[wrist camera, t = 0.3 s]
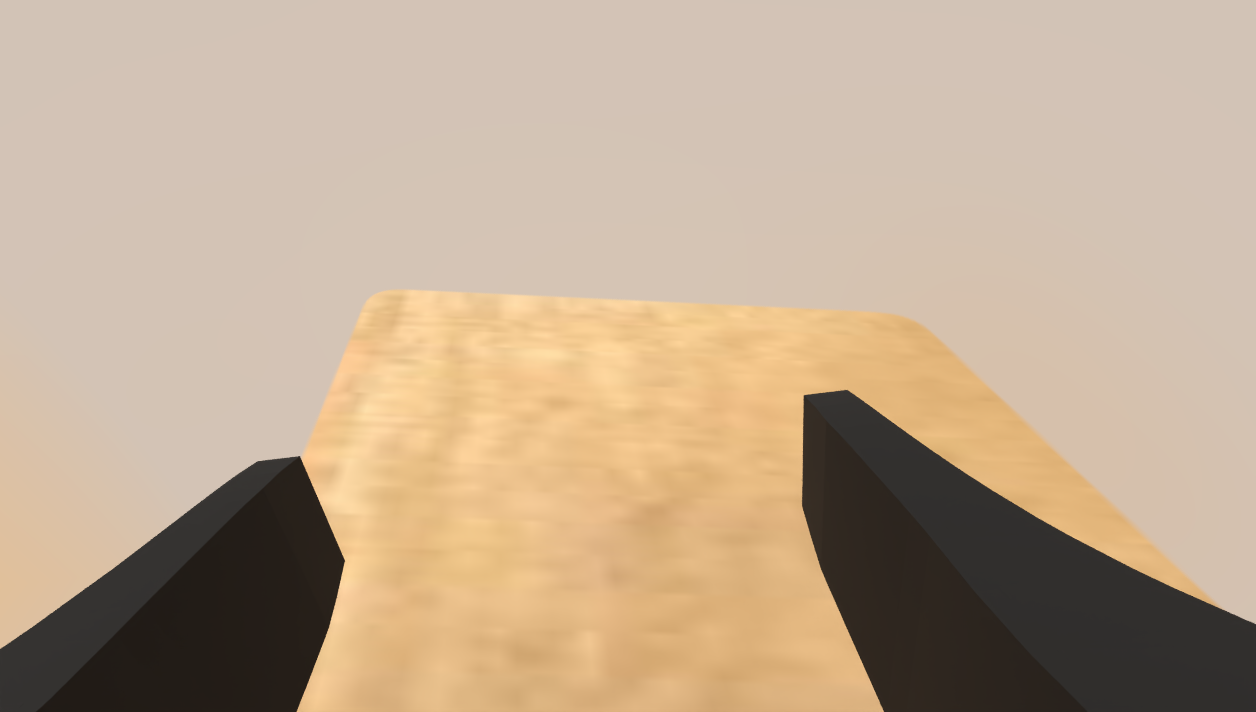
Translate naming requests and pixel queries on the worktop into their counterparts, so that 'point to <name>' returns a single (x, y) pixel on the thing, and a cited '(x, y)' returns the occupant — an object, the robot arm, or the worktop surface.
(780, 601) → the worktop surface
